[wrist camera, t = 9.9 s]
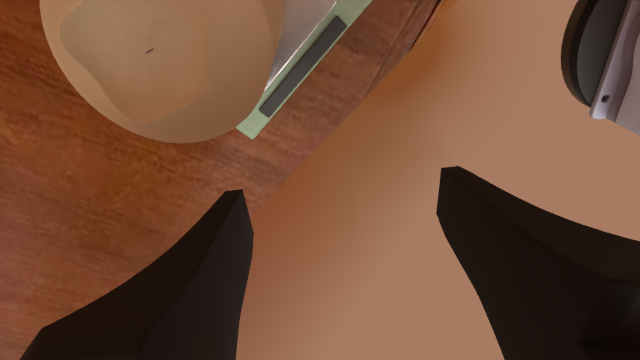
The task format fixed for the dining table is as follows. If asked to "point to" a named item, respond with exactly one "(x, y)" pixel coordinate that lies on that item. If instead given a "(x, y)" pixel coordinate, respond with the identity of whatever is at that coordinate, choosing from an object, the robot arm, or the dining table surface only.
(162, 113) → the candle
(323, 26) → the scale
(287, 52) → the thin square metal plate
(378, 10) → the dining table surface
